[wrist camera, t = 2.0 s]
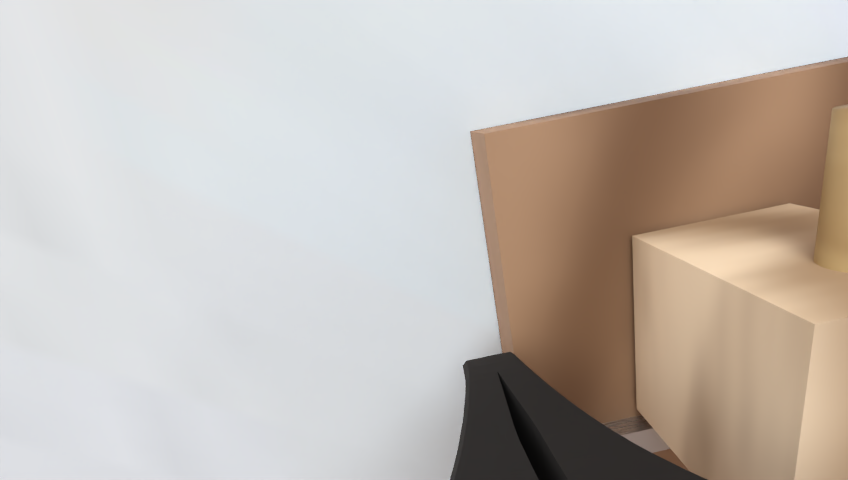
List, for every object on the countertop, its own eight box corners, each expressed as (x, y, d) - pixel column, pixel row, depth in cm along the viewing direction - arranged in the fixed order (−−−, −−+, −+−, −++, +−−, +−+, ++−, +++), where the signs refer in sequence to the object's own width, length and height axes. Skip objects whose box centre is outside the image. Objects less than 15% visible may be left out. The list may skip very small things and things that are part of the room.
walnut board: (1098, 7, 12) (1219, -12, 11) (981, 399, 17) (1052, 433, 15) (470, 131, 12) (485, 133, 10) (524, 501, 16) (540, 549, 15)
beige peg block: (801, 91, 10) (1154, 69, 6) (772, 379, 13) (992, 529, 8) (629, 126, 10) (840, 133, 5) (636, 408, 13) (780, 578, 8)
